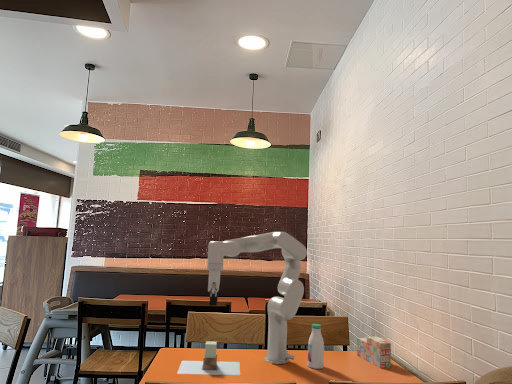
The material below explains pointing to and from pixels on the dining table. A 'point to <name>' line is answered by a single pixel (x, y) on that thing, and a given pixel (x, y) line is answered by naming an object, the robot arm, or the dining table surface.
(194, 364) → the board
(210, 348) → the sage block
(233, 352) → the dining table surface
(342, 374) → the dining table surface
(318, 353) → the milk bottle
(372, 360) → the stack of blocks
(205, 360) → the walnut block
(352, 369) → the dining table surface
